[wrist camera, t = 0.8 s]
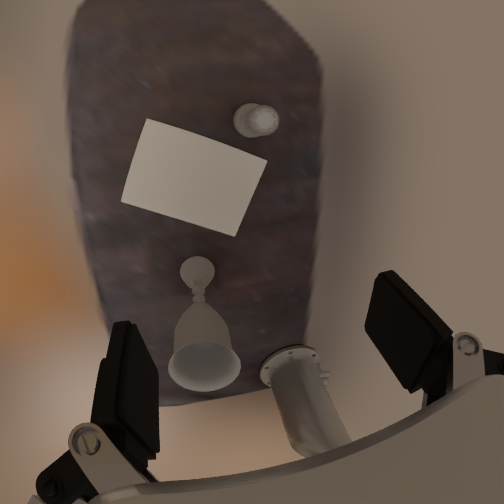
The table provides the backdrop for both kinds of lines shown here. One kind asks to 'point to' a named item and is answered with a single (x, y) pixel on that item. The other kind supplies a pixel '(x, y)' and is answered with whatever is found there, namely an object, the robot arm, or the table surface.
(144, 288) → the table surface
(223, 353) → the chalice
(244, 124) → the rook chess piece
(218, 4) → the table surface
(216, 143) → the grey mat
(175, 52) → the table surface
